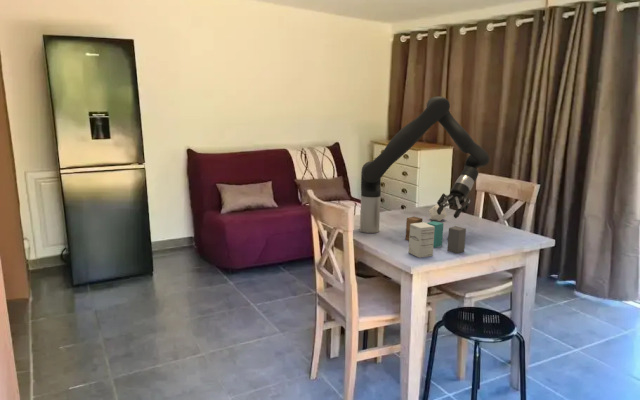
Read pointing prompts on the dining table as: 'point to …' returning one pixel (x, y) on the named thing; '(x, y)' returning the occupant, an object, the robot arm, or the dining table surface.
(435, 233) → the teal block
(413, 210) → the dining table surface
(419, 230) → the supplement box
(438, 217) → the die
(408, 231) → the walnut block
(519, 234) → the dining table surface
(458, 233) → the charcoal block
